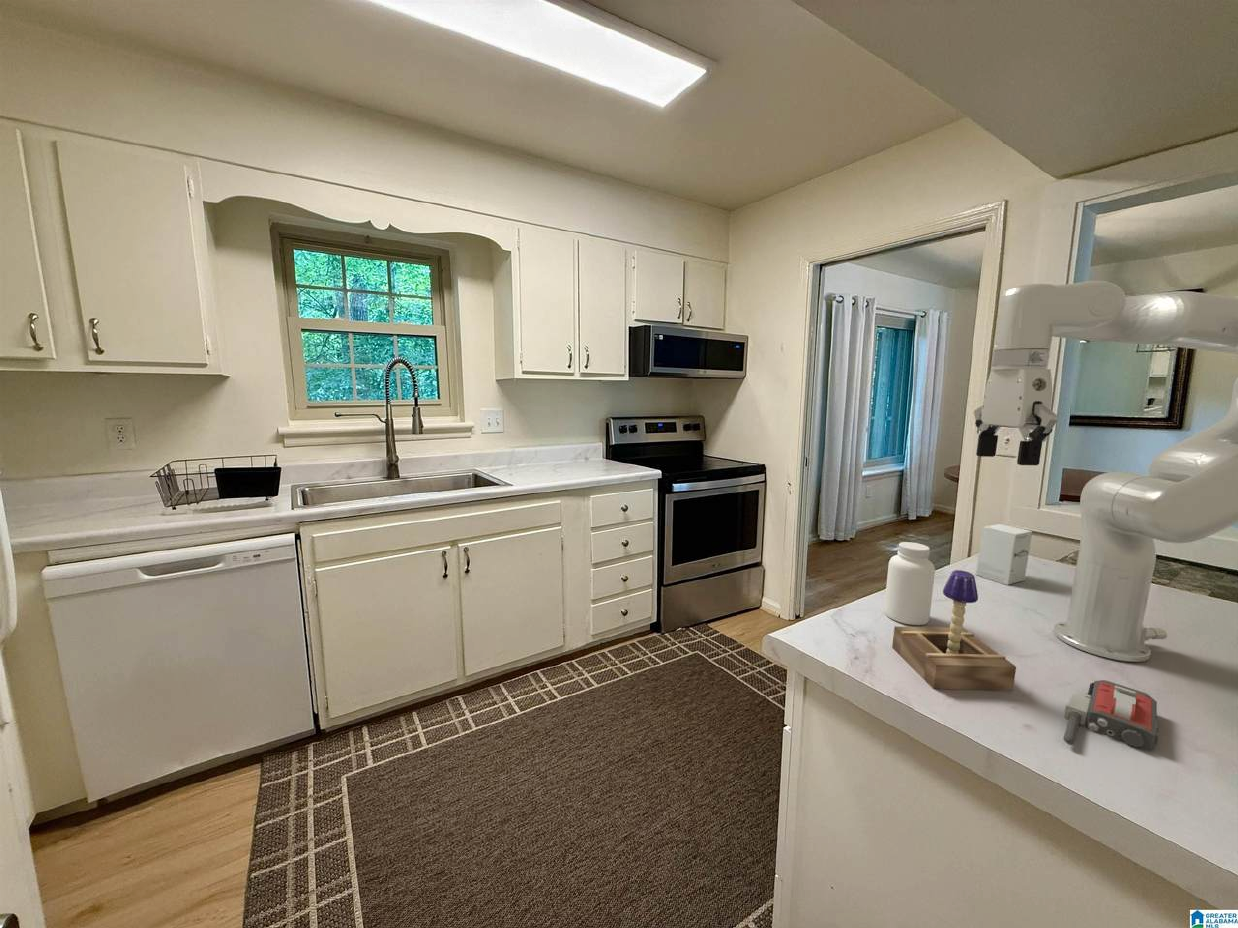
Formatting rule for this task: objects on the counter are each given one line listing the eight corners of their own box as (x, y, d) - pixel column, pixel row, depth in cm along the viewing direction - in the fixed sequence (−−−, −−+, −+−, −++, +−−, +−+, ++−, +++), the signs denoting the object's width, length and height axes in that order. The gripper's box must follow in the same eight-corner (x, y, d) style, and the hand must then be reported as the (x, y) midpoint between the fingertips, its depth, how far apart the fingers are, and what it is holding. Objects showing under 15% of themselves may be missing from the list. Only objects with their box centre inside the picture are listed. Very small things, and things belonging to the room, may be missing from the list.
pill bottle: (925, 612, 101) (934, 542, 98) (931, 630, 93) (941, 555, 91) (882, 605, 104) (889, 537, 102) (884, 621, 97) (892, 548, 94)
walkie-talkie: (1073, 685, 77) (1055, 746, 64) (1078, 659, 76) (1060, 716, 63) (1155, 713, 71) (1154, 788, 57) (1161, 685, 70) (1161, 754, 57)
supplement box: (1008, 586, 115) (1015, 534, 113) (974, 574, 122) (981, 525, 120) (1025, 581, 118) (1033, 530, 116) (992, 570, 125) (998, 522, 123)
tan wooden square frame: (960, 648, 87) (963, 626, 86) (1012, 690, 75) (1016, 664, 74) (892, 647, 87) (894, 624, 86) (933, 688, 75) (936, 662, 75)
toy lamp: (973, 679, 78) (987, 579, 75) (940, 674, 79) (953, 576, 76) (959, 662, 82) (972, 568, 80) (928, 659, 83) (940, 565, 81)
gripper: (1088, 359, 75) (1070, 469, 78) (1003, 363, 92) (991, 453, 95) (1039, 358, 75) (1022, 468, 78) (963, 363, 92) (952, 453, 95)
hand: (1005, 460), depth 86 cm, fingers open, 9 cm apart
